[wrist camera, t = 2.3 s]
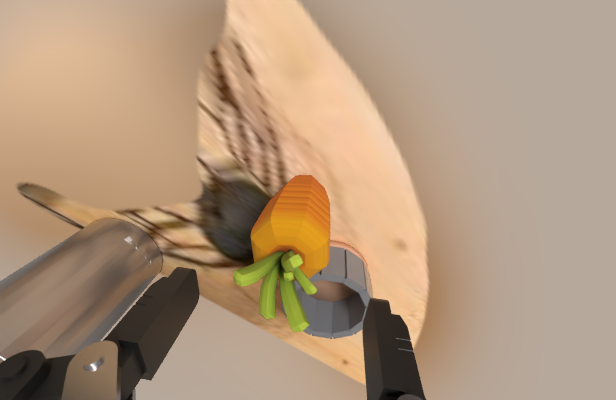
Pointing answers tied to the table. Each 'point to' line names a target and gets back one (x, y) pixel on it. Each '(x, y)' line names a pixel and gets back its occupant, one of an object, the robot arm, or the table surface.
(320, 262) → the carrot
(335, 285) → the cup
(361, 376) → the table surface
